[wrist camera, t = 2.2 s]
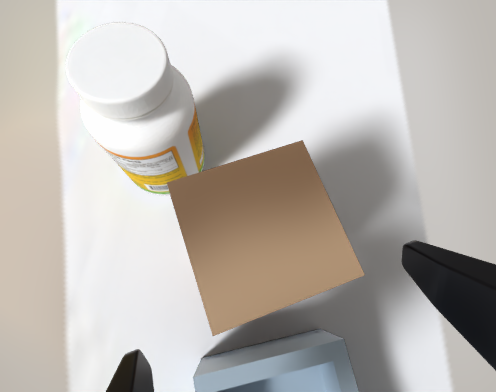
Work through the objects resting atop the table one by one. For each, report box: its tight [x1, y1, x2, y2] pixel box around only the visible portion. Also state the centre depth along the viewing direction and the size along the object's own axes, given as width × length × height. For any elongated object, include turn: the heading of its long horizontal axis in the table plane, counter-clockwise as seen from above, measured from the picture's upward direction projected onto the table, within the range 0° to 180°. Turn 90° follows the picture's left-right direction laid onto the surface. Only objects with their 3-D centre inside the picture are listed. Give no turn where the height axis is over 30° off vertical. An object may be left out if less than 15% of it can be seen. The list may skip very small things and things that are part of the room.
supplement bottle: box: [66, 22, 205, 195], centre depth 16 cm, size 5×5×10 cm
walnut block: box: [167, 140, 365, 336], centre depth 14 cm, size 4×4×11 cm
